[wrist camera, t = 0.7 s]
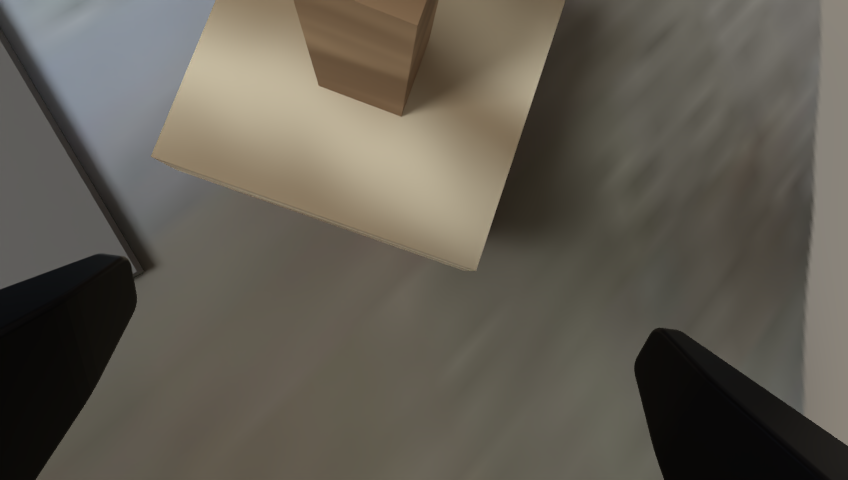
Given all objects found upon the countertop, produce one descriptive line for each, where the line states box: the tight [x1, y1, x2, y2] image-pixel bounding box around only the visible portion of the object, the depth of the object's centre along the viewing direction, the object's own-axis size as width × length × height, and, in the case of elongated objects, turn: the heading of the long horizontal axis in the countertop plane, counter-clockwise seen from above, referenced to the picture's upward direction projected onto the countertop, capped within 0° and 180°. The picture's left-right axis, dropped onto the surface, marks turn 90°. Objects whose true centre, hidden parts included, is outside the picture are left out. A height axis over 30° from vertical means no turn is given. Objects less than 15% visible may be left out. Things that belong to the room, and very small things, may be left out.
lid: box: [151, 0, 565, 271], centre depth 14 cm, size 11×11×8 cm
